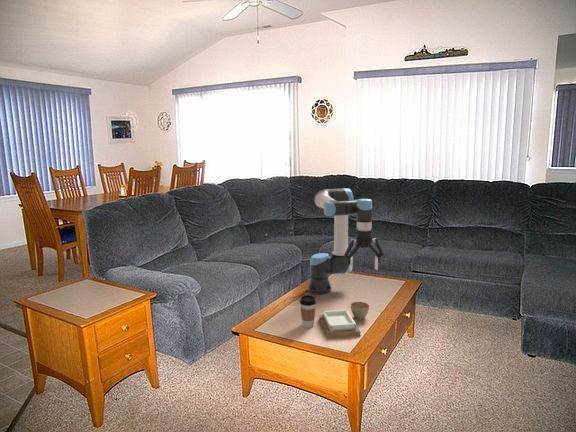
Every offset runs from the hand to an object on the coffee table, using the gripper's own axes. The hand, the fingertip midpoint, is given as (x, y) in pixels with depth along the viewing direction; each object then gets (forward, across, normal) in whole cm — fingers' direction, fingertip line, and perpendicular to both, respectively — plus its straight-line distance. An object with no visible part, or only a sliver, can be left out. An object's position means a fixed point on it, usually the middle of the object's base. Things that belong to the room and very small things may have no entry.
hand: (363, 269), depth 219 cm
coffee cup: (+28, -29, -1) cm, 41 cm away
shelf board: (+28, -14, -6) cm, 32 cm away
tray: (+26, -14, -6) cm, 30 cm away
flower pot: (+28, 0, +4) cm, 29 cm away
